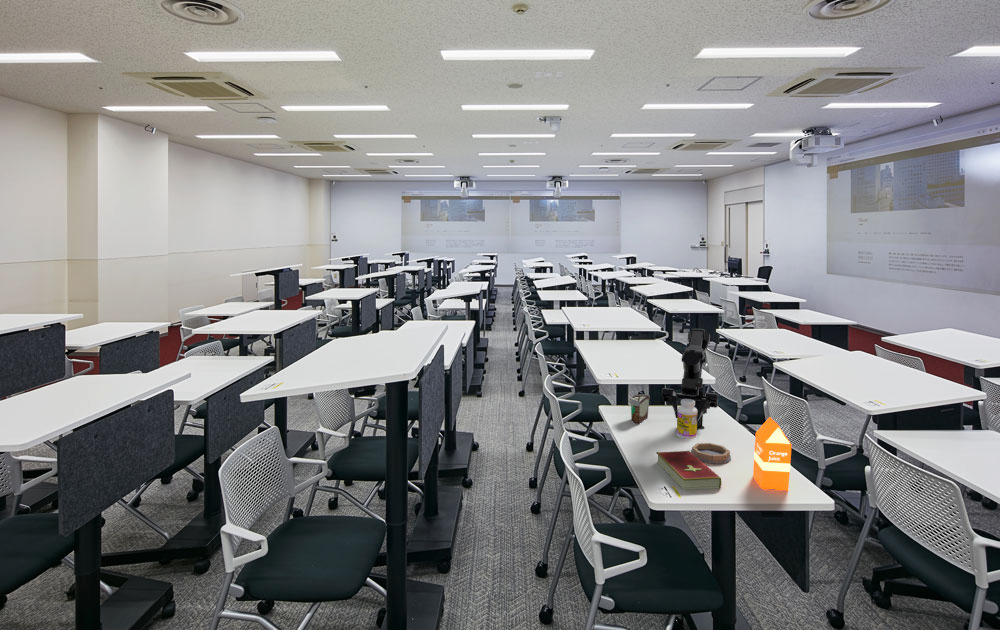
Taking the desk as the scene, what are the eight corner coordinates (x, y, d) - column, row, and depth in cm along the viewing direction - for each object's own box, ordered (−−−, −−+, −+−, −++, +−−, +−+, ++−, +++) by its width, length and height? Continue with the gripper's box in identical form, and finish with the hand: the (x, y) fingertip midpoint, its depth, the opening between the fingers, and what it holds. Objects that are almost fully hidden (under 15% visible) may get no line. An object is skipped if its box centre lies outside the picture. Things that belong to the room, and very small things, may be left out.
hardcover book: (689, 461, 182) (690, 449, 181) (721, 489, 161) (721, 476, 160) (655, 463, 181) (656, 451, 180) (683, 491, 160) (683, 478, 159)
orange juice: (778, 478, 168) (782, 417, 165) (788, 491, 159) (793, 426, 156) (752, 476, 169) (756, 416, 166) (761, 489, 160) (765, 425, 158)
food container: (635, 414, 230) (635, 392, 229) (648, 417, 226) (649, 394, 225) (624, 422, 220) (624, 399, 219) (638, 425, 217) (639, 401, 215)
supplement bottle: (672, 435, 187) (673, 399, 185) (685, 431, 191) (686, 396, 189) (688, 441, 181) (689, 404, 180) (700, 437, 185) (702, 401, 183)
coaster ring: (718, 448, 192) (719, 441, 192) (738, 463, 179) (738, 455, 179) (684, 449, 191) (684, 442, 190) (701, 464, 178) (701, 457, 178)
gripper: (662, 366, 190) (657, 404, 182) (719, 371, 182) (715, 411, 174) (665, 381, 198) (659, 419, 190) (719, 387, 191) (715, 426, 182)
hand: (686, 419), depth 184 cm, fingers closed on supplement bottle, 7 cm apart
